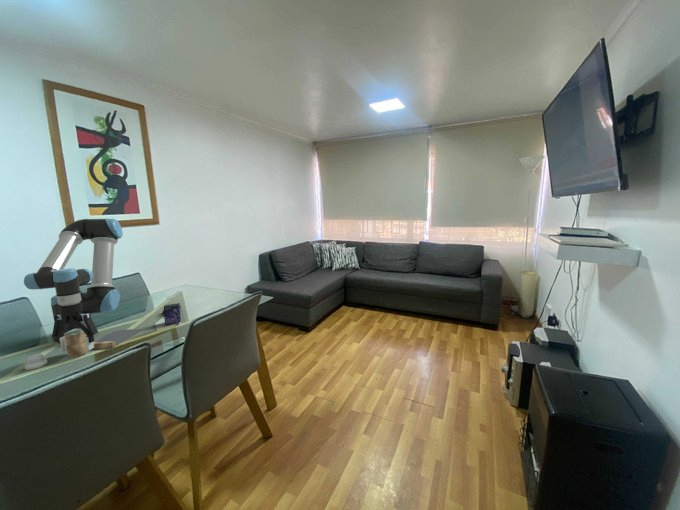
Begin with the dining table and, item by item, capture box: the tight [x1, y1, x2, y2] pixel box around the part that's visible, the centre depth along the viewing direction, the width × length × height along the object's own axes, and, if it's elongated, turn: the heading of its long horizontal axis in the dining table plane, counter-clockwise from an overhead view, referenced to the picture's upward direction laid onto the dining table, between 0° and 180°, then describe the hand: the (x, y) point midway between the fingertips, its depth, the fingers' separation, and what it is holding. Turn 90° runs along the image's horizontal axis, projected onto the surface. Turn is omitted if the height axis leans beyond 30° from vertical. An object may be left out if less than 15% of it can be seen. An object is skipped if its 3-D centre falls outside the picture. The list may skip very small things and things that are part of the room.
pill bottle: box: [24, 353, 48, 371], centre depth 114 cm, size 6×6×12 cm
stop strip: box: [91, 341, 117, 350], centre depth 128 cm, size 14×2×2 cm, turn 93°
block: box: [64, 329, 90, 357], centre depth 122 cm, size 5×5×11 cm
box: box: [163, 302, 182, 326], centre depth 157 cm, size 8×6×11 cm
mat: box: [94, 328, 143, 346], centre depth 139 cm, size 14×18×1 cm
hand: (78, 349), depth 123 cm, fingers open, 10 cm apart
